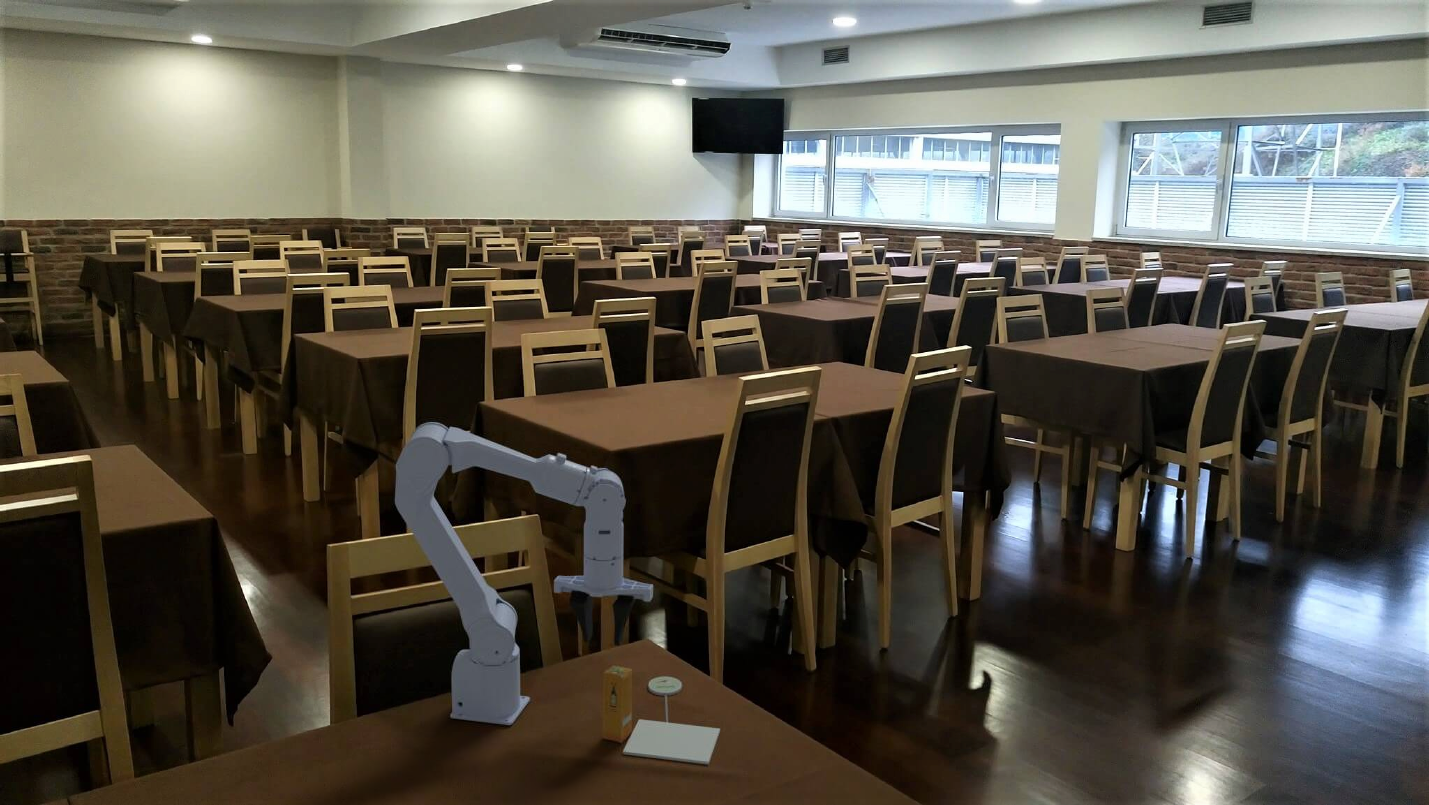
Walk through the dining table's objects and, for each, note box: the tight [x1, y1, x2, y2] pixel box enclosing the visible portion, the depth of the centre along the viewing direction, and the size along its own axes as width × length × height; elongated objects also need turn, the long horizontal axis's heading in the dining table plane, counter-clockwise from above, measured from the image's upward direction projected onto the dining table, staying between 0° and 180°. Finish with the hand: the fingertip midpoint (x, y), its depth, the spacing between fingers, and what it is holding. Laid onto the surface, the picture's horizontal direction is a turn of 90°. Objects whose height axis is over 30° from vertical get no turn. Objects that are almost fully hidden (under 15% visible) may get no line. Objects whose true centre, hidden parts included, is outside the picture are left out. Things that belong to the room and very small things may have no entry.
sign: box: [648, 676, 683, 723], centre depth 158 cm, size 5×1×15 cm
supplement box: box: [602, 665, 633, 744], centre depth 147 cm, size 3×3×10 cm
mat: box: [622, 719, 721, 765], centre depth 147 cm, size 12×9×1 cm
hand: (603, 641), depth 154 cm, fingers open, 4 cm apart
